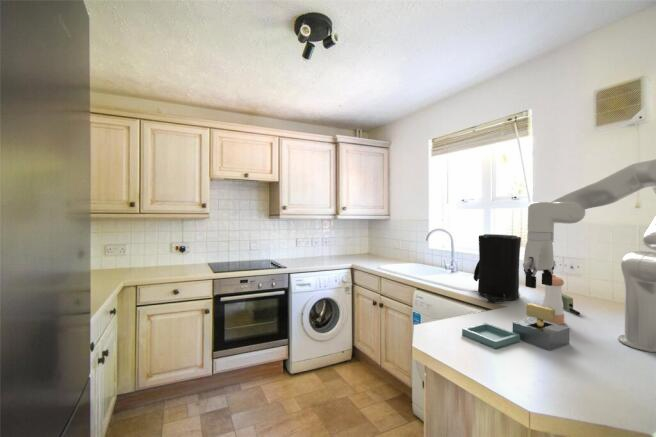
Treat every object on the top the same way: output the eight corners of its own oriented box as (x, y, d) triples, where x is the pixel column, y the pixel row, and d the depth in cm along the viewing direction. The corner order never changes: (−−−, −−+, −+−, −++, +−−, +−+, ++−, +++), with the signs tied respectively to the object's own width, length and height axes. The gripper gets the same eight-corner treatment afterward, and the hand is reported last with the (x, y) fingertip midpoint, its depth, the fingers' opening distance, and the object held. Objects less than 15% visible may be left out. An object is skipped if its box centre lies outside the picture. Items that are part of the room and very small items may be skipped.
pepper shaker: (568, 324, 120) (568, 277, 120) (547, 323, 121) (547, 276, 121) (558, 318, 127) (558, 273, 127) (538, 317, 129) (539, 273, 128)
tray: (519, 341, 104) (519, 334, 104) (495, 349, 98) (495, 341, 98) (485, 329, 115) (485, 322, 115) (462, 335, 109) (462, 328, 109)
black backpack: (514, 290, 175) (514, 233, 175) (536, 306, 144) (537, 236, 144) (472, 288, 181) (472, 232, 181) (484, 303, 150) (485, 236, 150)
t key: (555, 344, 102) (555, 309, 102) (550, 345, 101) (551, 310, 100) (530, 335, 109) (530, 303, 109) (526, 337, 108) (526, 304, 108)
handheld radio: (551, 300, 155) (583, 316, 130) (544, 300, 155) (574, 316, 131) (551, 287, 155) (582, 301, 130) (544, 287, 155) (574, 301, 131)
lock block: (569, 343, 102) (569, 327, 102) (549, 350, 97) (549, 334, 97) (532, 331, 113) (532, 317, 113) (512, 337, 107) (512, 322, 107)
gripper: (542, 236, 112) (541, 282, 112) (514, 237, 104) (512, 286, 104) (565, 237, 105) (564, 286, 105) (537, 238, 97) (535, 291, 97)
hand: (538, 286), depth 105 cm, fingers open, 9 cm apart
